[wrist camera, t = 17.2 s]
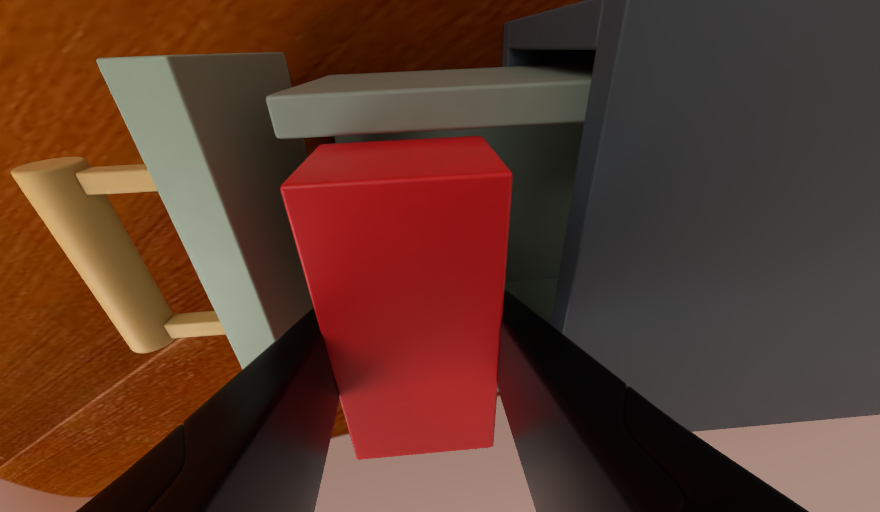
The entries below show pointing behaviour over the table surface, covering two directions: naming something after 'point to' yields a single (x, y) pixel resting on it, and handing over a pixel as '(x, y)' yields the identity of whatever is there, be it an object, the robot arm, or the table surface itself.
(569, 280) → the cabinet
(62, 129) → the table surface
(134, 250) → the drawer
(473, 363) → the red rectangular block
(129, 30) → the table surface
